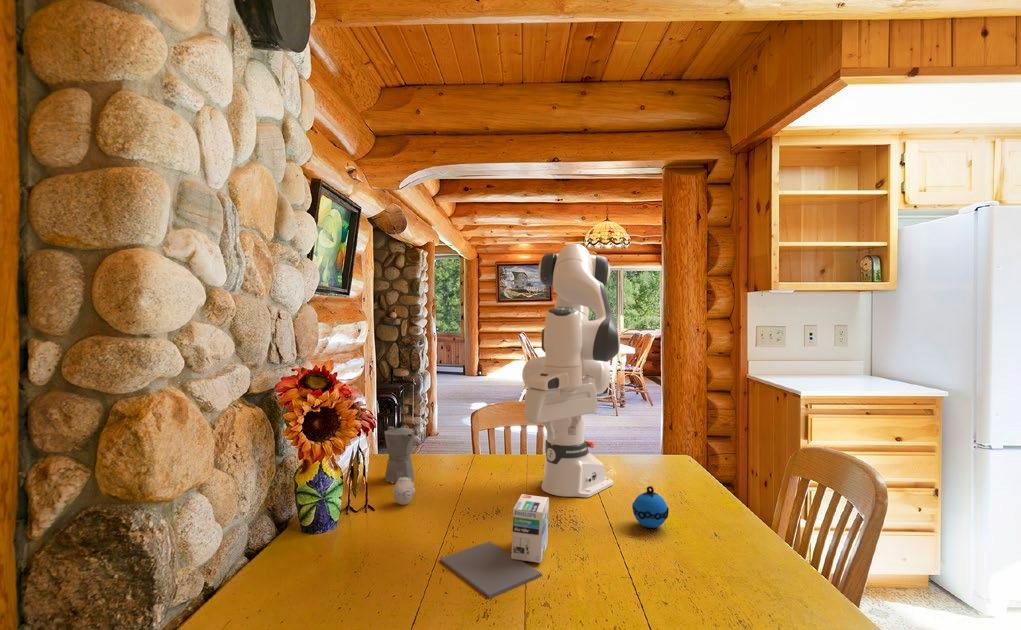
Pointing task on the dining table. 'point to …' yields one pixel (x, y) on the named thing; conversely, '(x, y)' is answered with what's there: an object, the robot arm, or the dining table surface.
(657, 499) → the ornament
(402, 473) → the coffeepot
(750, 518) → the dining table surface
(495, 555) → the mat
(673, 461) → the dining table surface
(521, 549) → the light bulb box
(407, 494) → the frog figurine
